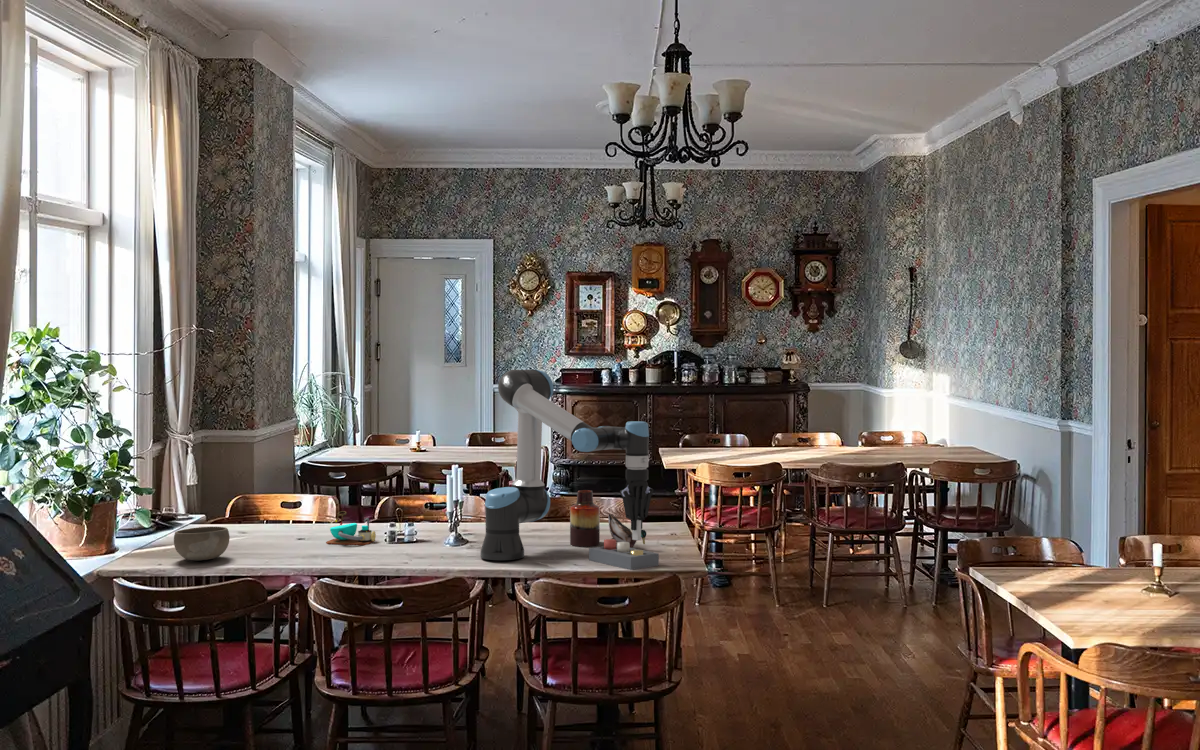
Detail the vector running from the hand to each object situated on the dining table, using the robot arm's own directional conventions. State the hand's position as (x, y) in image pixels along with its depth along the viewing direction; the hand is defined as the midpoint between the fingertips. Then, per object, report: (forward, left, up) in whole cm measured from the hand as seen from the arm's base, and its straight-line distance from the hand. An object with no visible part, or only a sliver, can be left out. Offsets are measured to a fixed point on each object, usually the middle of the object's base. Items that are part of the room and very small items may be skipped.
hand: (636, 539), depth 337 cm
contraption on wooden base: (-56, +98, -9) cm, 113 cm away
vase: (+10, +41, -9) cm, 43 cm away
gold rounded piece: (0, 0, -7) cm, 7 cm away
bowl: (-108, +103, -9) cm, 149 cm away
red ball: (0, +14, -5) cm, 15 cm away
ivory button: (0, +7, -5) cm, 9 cm away
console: (0, +7, -9) cm, 11 cm away
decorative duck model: (+18, +23, -8) cm, 30 cm away
